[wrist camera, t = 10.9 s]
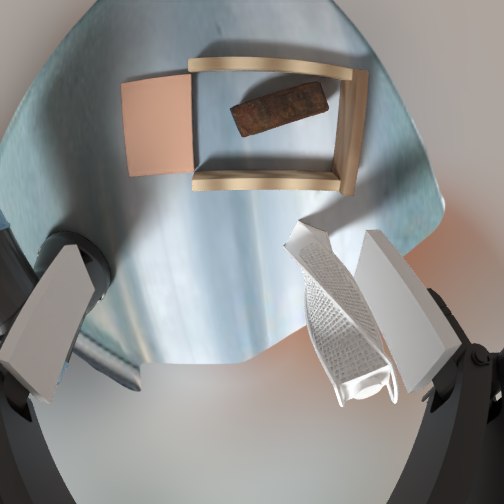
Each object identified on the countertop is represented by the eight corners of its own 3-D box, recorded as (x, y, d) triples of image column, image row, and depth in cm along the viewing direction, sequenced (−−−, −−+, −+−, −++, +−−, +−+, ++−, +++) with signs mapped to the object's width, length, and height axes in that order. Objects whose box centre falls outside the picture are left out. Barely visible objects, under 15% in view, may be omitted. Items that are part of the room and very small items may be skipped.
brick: (307, 83, 29) (320, 79, 25) (317, 110, 31) (331, 111, 27) (228, 108, 30) (230, 107, 26) (240, 136, 32) (243, 139, 28)
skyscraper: (337, 228, 42) (426, 383, 19) (315, 264, 46) (375, 419, 23) (295, 211, 40) (372, 387, 17) (273, 251, 43) (317, 425, 20)
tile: (131, 174, 34) (129, 177, 33) (123, 83, 26) (120, 83, 26) (194, 169, 35) (193, 171, 34) (191, 74, 27) (190, 73, 26)
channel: (195, 181, 36) (191, 195, 31) (191, 61, 26) (186, 57, 22) (339, 182, 37) (353, 195, 33) (351, 71, 28) (369, 71, 24)
